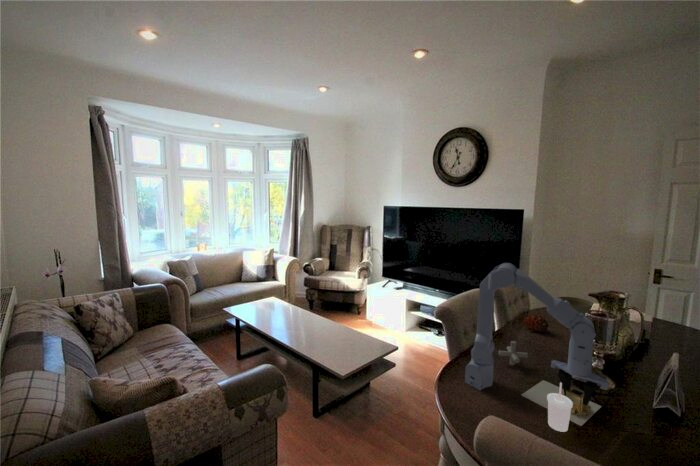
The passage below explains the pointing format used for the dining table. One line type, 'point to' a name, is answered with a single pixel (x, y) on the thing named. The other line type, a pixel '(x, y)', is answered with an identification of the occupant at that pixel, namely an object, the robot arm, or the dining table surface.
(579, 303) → the planter bowl
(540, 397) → the plate
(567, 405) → the beverage cup
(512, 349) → the pipe connector
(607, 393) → the dining table surface
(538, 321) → the dragon fruit
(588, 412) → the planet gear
